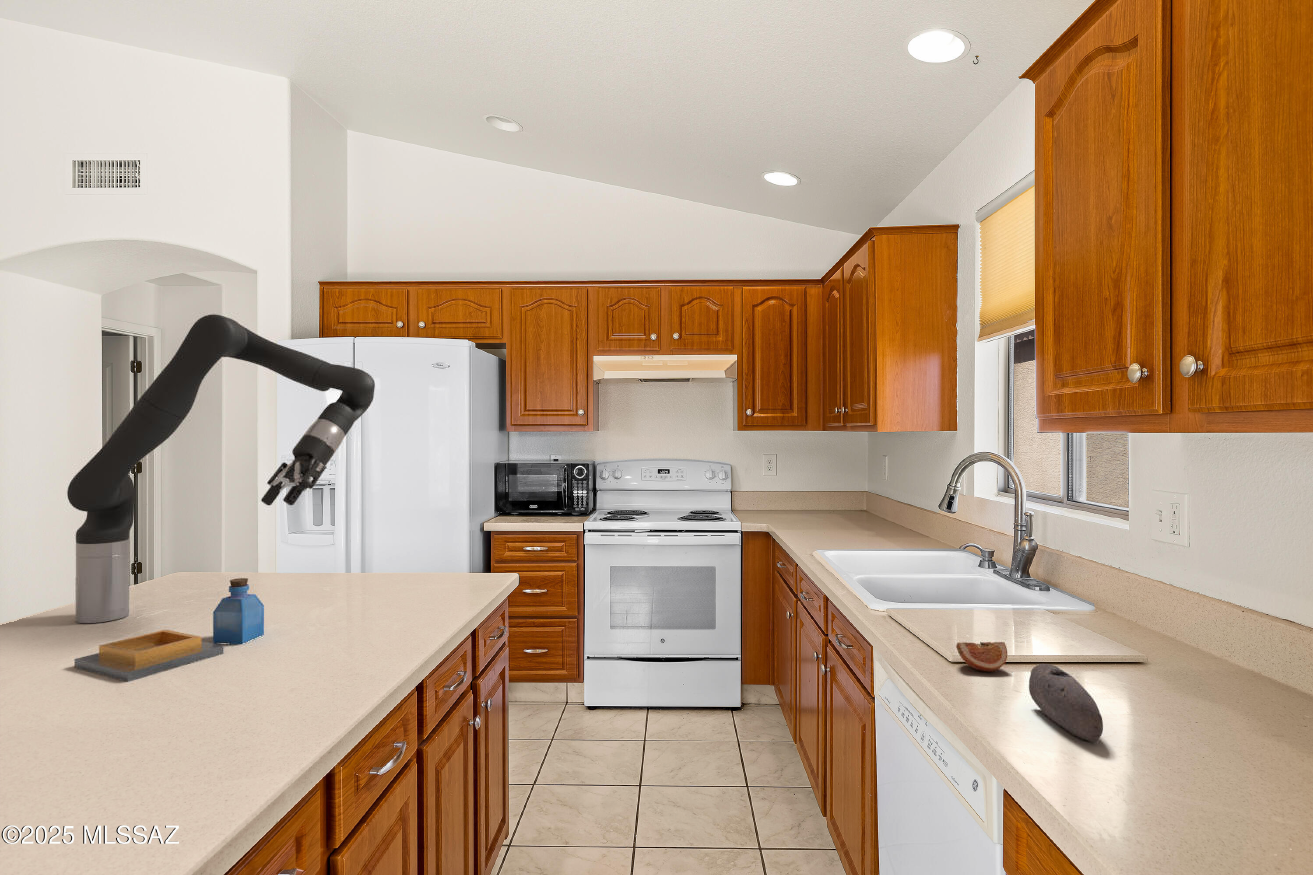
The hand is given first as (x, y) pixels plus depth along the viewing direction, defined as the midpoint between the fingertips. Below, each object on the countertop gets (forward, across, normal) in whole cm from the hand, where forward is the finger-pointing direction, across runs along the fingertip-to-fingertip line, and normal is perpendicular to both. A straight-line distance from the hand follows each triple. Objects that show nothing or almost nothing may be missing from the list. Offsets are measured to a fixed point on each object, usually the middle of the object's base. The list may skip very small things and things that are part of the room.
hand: (276, 503), depth 144 cm
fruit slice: (-6, +128, +63) cm, 143 cm away
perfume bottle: (+26, 0, +10) cm, 28 cm away
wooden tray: (+36, 0, -2) cm, 36 cm away
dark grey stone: (+7, +142, +48) cm, 150 cm away
